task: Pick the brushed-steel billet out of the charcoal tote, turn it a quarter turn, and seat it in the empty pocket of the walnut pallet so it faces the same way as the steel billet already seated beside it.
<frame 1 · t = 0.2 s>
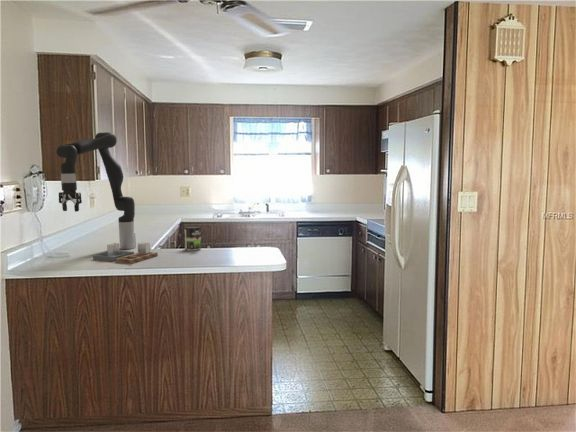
hand: (70, 211, 260), 29 cm above the worktop, tool pointing down, fingers open, 8 cm apart
billet: (113, 258, 270), point 1 cm above the worktop, touching tote
pallet: (137, 260, 266), on the worktop
tote: (114, 259, 270), on the worktop
coffee can: (193, 249, 300), on the worktop
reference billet: (144, 256, 272), point 1 cm above the worktop, touching pallet
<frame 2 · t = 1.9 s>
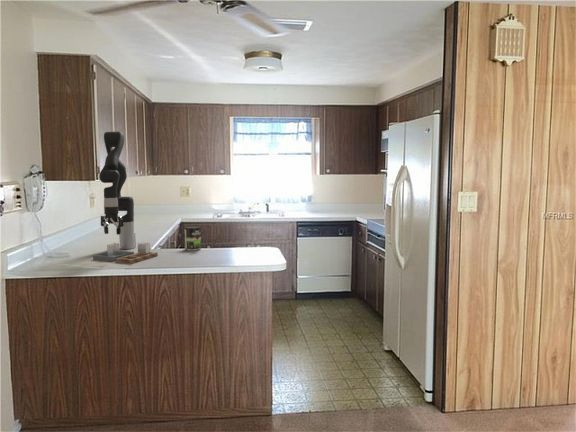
hand: (112, 234, 268), 15 cm above the worktop, tool pointing down, fingers open, 8 cm apart
nothing on the worktop moved.
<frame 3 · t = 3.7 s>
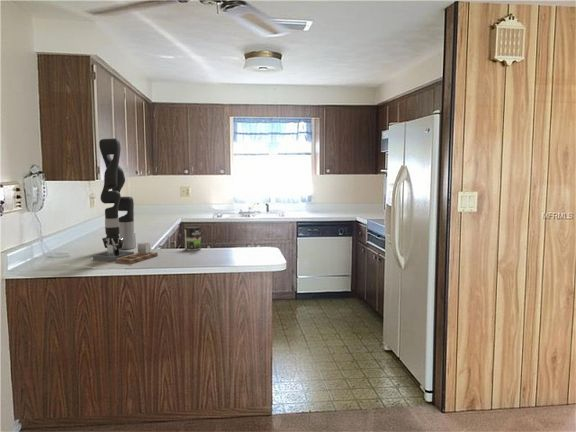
hand: (113, 255, 270), 2 cm above the worktop, tool pointing down, fingers closed on billet, 4 cm apart
billet: (113, 258, 270), point 1 cm above the worktop, touching gripper, tote
everything else where it was.
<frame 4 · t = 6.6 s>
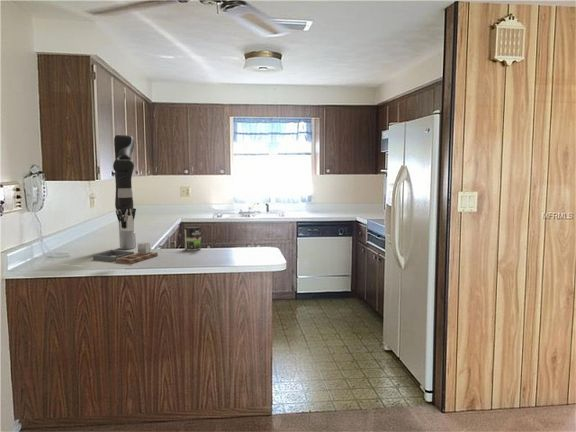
hand: (126, 227, 258), 20 cm above the worktop, tool pointing down, fingers closed on billet, 4 cm apart
billet: (126, 230, 258), point 18 cm above the worktop, touching gripper
everything else where it was.
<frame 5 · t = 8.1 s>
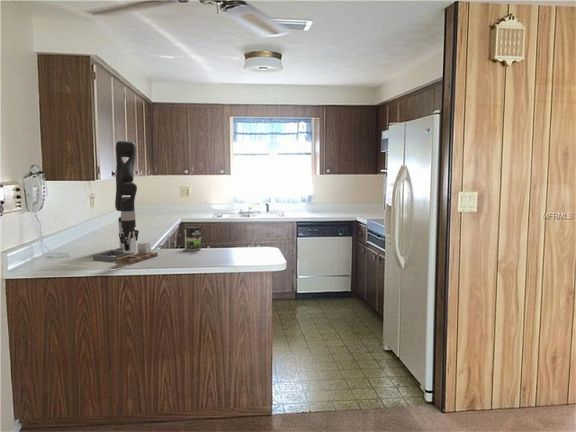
hand: (129, 249, 260), 7 cm above the worktop, tool pointing down, fingers closed on billet, 4 cm apart
billet: (129, 252, 260), point 6 cm above the worktop, touching gripper
everything else where it was.
when the fingers open (4 cm above the worktop, at t = 9.5 s): billet drops 1 cm, resting on pallet.
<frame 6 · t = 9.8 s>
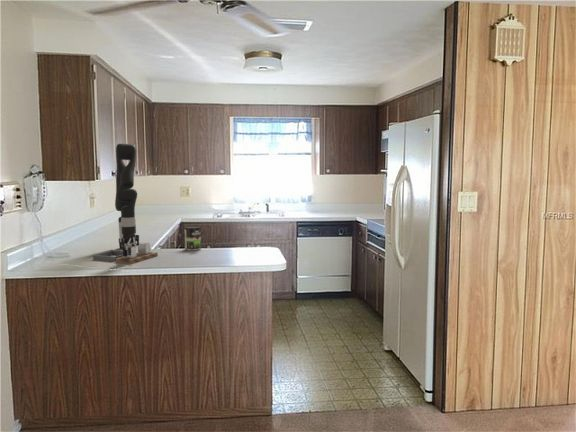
hand: (129, 255, 260), 4 cm above the worktop, tool pointing down, fingers open, 6 cm apart
billet: (130, 261, 261), point 1 cm above the worktop, touching pallet
everything else where it was.
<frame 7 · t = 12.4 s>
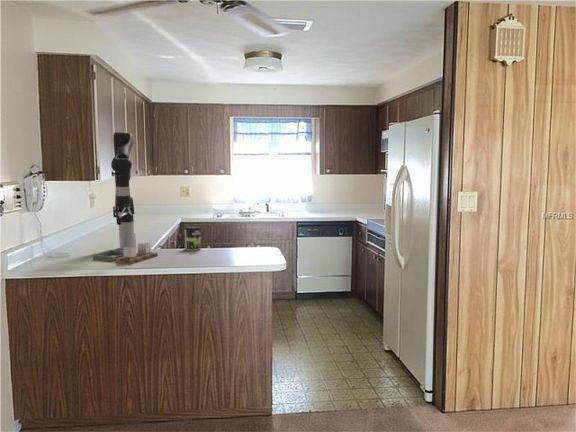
hand: (124, 223, 264), 21 cm above the worktop, tool pointing down, fingers open, 8 cm apart
nothing on the worktop moved.
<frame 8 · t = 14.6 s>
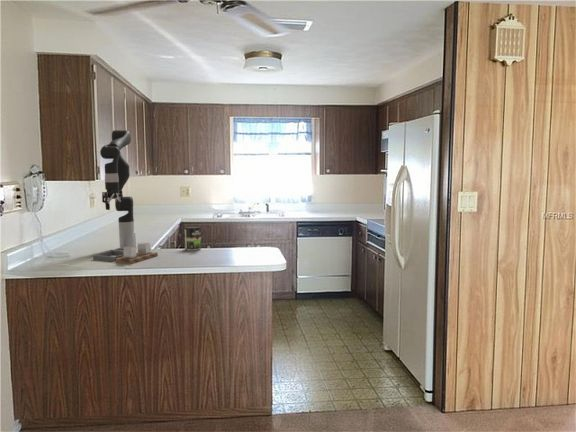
hand: (113, 209, 275), 28 cm above the worktop, tool pointing down, fingers open, 8 cm apart
nothing on the worktop moved.
at the end: billet 0.2 cm from the target spot on the pallet, point 1.0 cm above the pallet's base; billet tilted 0°; the gripper is holding nothing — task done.
